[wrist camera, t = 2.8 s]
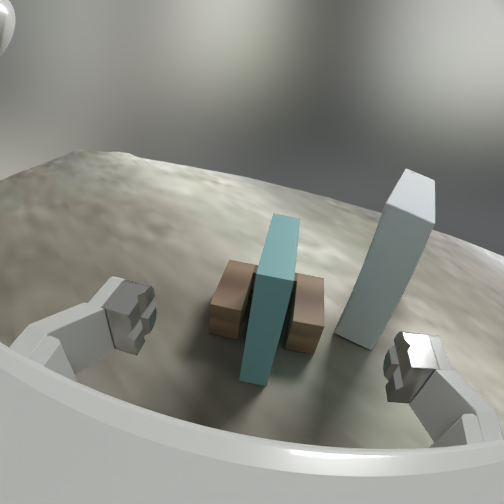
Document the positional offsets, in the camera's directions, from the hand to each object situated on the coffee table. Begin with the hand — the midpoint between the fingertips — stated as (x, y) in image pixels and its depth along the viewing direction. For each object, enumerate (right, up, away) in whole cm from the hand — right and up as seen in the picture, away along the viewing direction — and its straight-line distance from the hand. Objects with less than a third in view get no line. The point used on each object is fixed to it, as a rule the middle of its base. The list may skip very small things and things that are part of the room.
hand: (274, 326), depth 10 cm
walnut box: (+1, -5, +25) cm, 25 cm away
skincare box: (+16, -4, +31) cm, 35 cm away
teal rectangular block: (0, -7, +21) cm, 22 cm away
